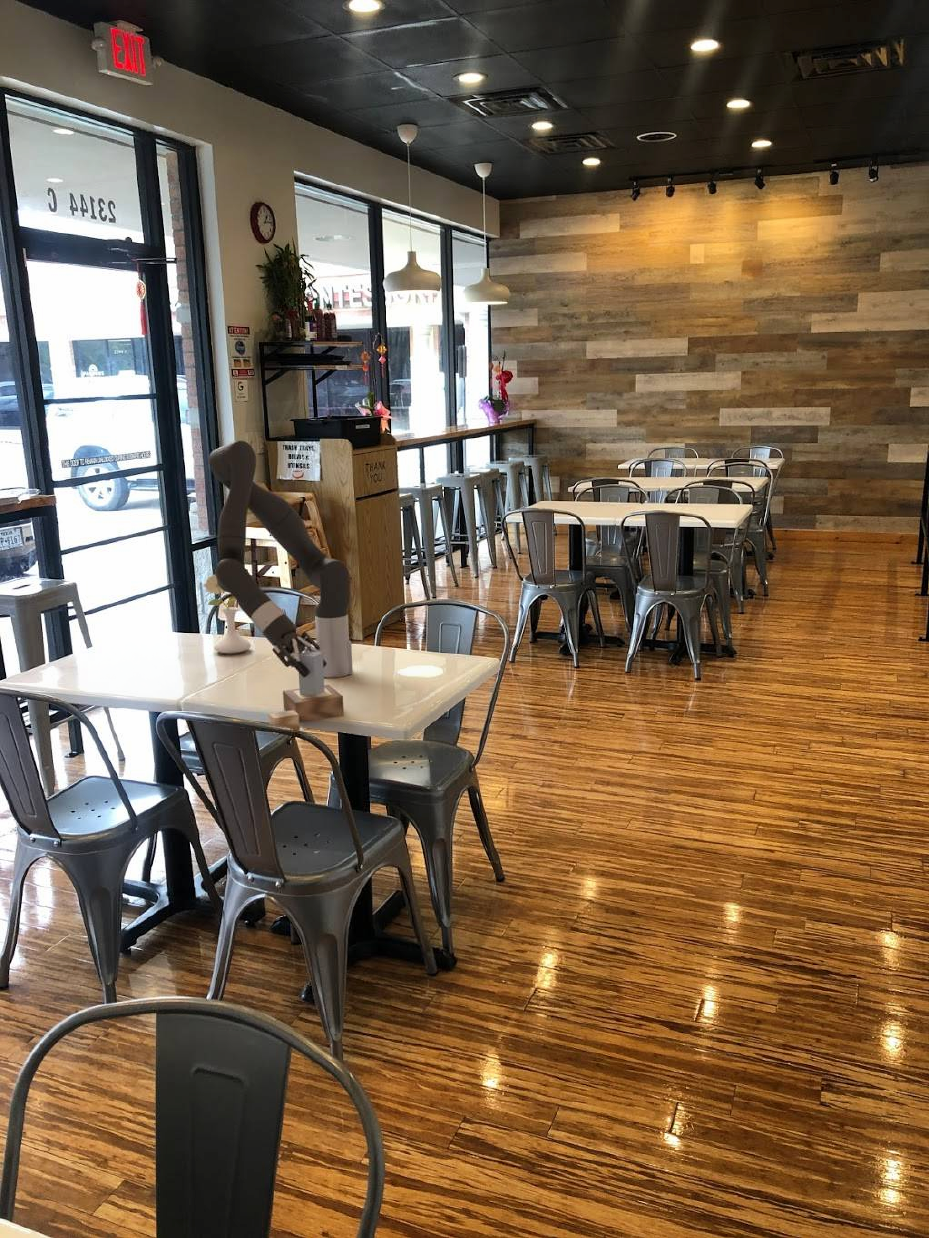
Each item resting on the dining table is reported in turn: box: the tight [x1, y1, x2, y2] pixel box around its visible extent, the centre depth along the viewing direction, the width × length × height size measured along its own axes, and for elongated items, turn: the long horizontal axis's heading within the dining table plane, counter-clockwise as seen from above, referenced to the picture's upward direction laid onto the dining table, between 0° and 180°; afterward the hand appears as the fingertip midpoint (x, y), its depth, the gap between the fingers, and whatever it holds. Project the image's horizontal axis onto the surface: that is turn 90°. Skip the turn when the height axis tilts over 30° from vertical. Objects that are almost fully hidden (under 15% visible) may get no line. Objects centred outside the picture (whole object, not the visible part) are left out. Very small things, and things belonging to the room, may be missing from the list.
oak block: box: [268, 710, 300, 735], centre depth 250 cm, size 6×4×4 cm, turn 117°
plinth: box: [282, 684, 345, 723], centre depth 263 cm, size 12×12×5 cm
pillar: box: [298, 651, 325, 696], centre depth 261 cm, size 4×4×10 cm
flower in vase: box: [203, 574, 252, 654], centre depth 327 cm, size 13×11×25 cm
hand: (316, 670), depth 261 cm, fingers open, 8 cm apart
